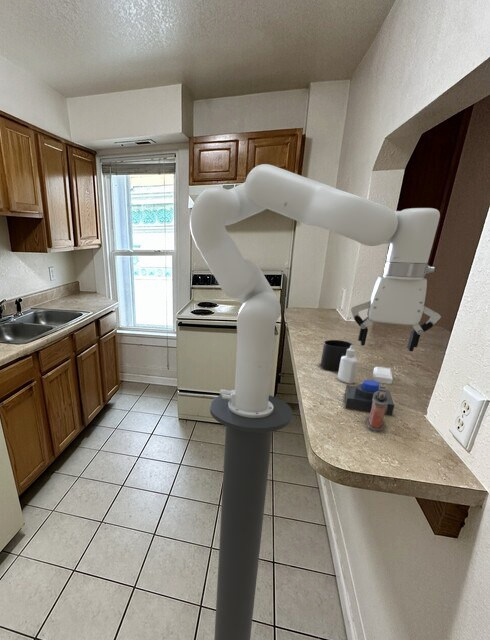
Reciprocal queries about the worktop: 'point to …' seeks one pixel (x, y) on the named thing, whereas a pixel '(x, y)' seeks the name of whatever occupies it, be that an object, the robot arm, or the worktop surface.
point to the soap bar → (382, 375)
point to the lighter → (378, 409)
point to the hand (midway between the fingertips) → (385, 346)
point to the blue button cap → (370, 385)
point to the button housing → (363, 399)
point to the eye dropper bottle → (348, 367)
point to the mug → (333, 354)
